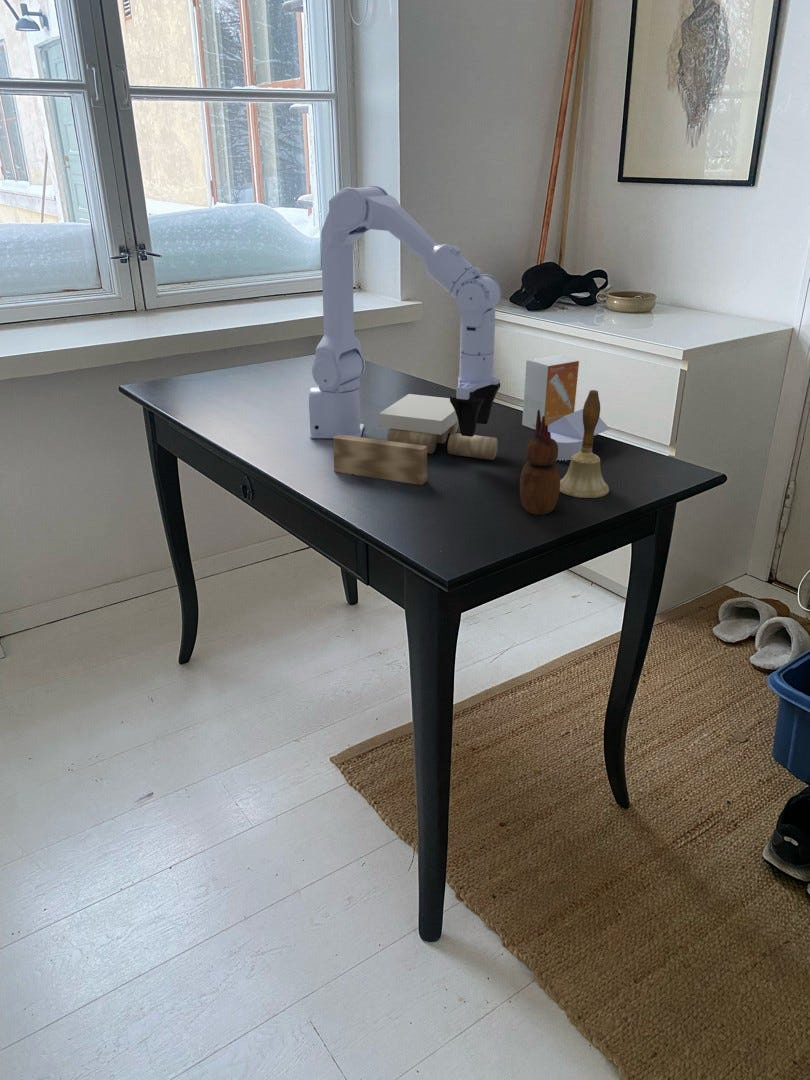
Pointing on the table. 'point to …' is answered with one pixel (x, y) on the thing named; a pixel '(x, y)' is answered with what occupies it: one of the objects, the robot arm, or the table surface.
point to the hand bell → (586, 458)
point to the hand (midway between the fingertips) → (474, 429)
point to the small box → (549, 389)
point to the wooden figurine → (540, 472)
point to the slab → (419, 414)
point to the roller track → (420, 437)
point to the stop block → (380, 459)
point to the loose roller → (472, 446)
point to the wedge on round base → (571, 433)
